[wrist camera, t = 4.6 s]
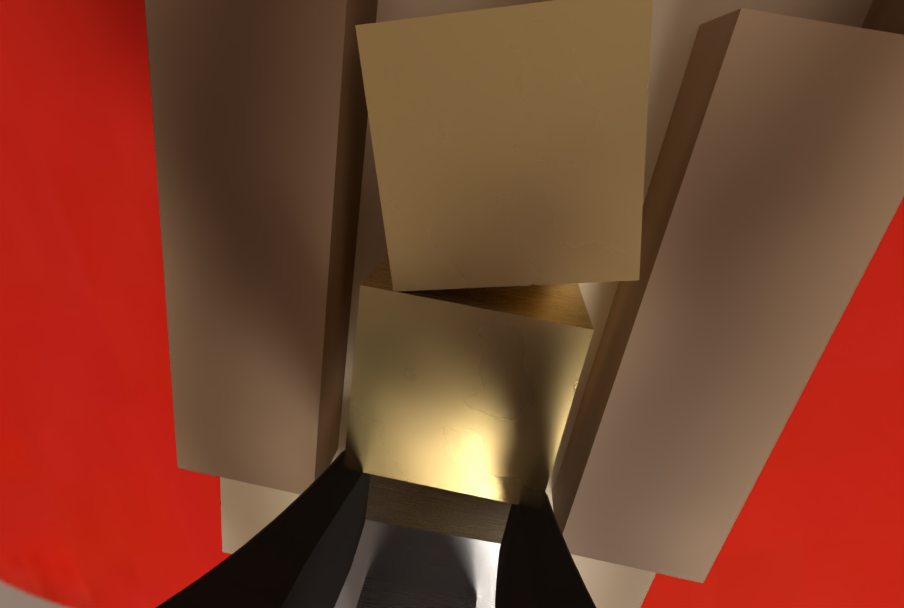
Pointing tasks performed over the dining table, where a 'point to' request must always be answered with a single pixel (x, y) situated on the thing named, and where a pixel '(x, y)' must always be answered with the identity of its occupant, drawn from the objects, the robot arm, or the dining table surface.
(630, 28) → the golden brown cube
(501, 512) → the brushed metal block
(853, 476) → the dining table surface
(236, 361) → the slot board
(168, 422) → the dining table surface
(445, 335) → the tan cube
